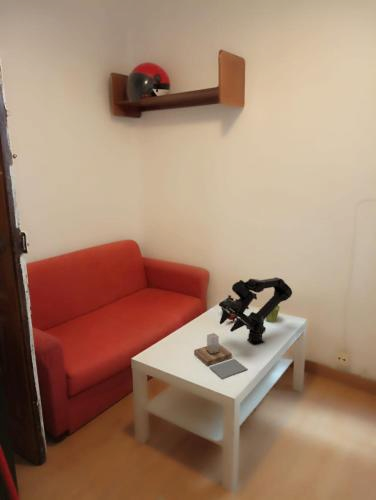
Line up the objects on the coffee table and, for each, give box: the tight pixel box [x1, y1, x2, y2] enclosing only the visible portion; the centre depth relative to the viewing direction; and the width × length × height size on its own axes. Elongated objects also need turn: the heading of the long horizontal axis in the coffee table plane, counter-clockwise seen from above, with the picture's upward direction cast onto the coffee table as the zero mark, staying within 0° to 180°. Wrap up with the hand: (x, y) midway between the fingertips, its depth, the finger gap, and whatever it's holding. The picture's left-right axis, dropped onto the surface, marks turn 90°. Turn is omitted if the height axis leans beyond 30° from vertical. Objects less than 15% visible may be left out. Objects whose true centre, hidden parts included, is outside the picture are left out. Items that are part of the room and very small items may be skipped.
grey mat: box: [208, 358, 248, 380], centre depth 167 cm, size 14×10×1 cm
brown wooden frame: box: [193, 343, 233, 367], centre depth 178 cm, size 14×12×2 cm
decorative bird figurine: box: [227, 312, 239, 324], centre depth 214 cm, size 3×18×10 cm, turn 126°
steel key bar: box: [206, 332, 220, 355], centre depth 177 cm, size 4×4×11 cm
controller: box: [218, 294, 235, 308], centre depth 226 cm, size 4×12×10 cm, turn 140°
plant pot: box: [265, 304, 281, 323], centre depth 214 cm, size 9×9×9 cm
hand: (225, 327), depth 178 cm, fingers open, 9 cm apart
